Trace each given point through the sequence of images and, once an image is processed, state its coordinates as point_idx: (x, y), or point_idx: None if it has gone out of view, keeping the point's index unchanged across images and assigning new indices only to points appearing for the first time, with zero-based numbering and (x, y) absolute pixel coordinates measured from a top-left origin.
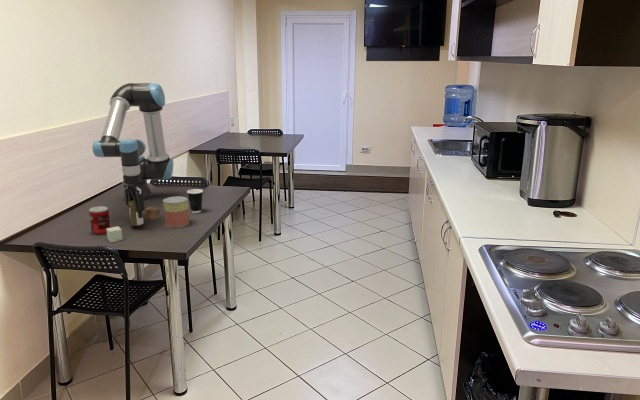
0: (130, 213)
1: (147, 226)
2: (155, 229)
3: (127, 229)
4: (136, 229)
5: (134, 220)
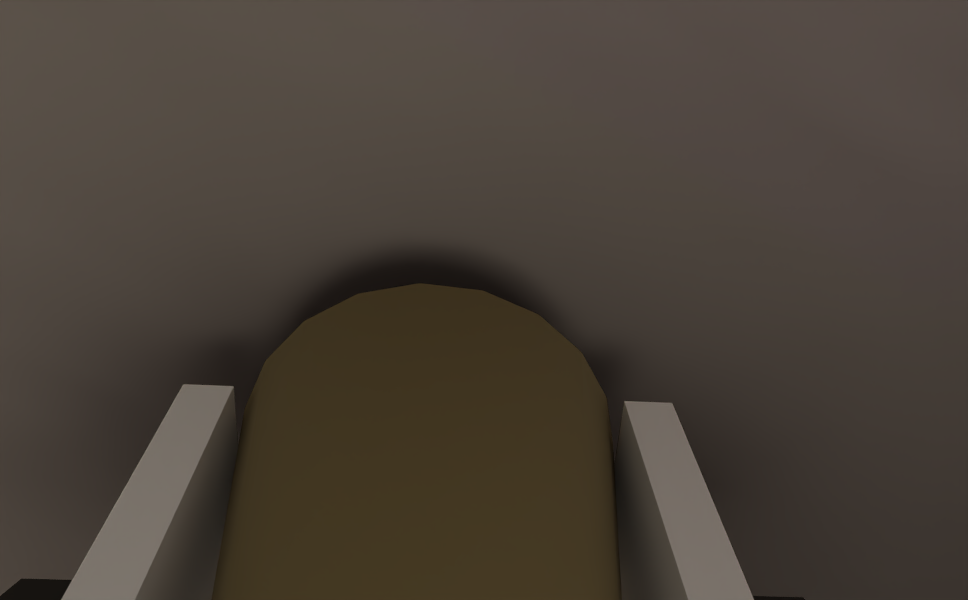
0: (522, 580)
1: None
2: (2, 560)
3: (474, 148)
4: (299, 301)
5: (279, 430)
